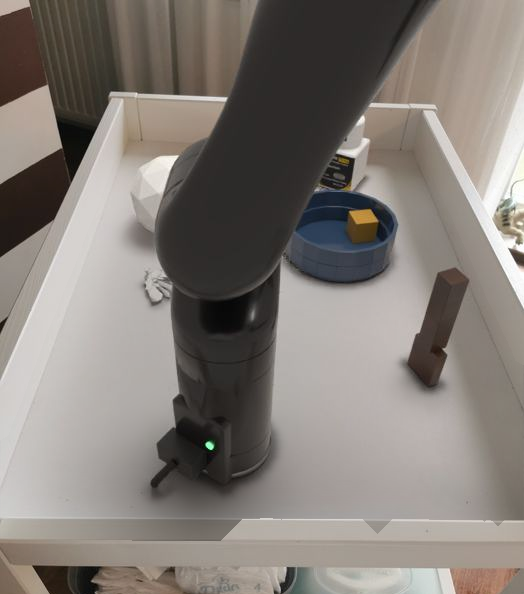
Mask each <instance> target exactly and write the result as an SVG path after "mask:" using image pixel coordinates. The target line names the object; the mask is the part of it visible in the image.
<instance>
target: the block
mask: <svg viewBox="0 0 524 594" xmlns="http://www.w3.org/2000/svg"><path fill="white" fill-rule="evenodd" d="M377 227H378V220H377V218H376V217H375V215H374V214H373V212H372V211H371V209H367V210H357V211H349V214H348V220H347V227H346V232H347V233H348V235H349V237H350V239H351V241H352V242H353V244H354V243H363V242H372V241H375V238H376V232H377Z"/></svg>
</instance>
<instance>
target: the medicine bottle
mask: <svg viewBox="0 0 524 594" xmlns="http://www.w3.org/2000/svg"><path fill="white" fill-rule="evenodd" d="M365 125H366V117H365V116H364V115H363V116H362V117H361V118H360V120H359V121H358V122H357V124H356V125H355V127H354V128H353V129H352V131H351V132H350V134H349V135H348V136H347V138H346V139H345V141H344V142H343V144H342V145H341V147H340V148H339V149H338V151H337V152H336V154H335V156H334V157H333V159H332V161H331V162H330V164H329V166H328V167H327V169H326V171H325V172H324V174H323V176H322V178H321V180H320V182H319V183H318V185H317V187H321V188H325V189H327V190H348V191H354V190H355V188H356V187H357V186H359V184H360V182H361V181H362V180H363V179H364V177H365V175H366V169H367V163H368V157H369V150H370V144H371V139H370V138H368V137H367V138H366V137H364V131H365Z"/></svg>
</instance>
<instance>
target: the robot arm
mask: <svg viewBox="0 0 524 594" xmlns="http://www.w3.org/2000/svg"><path fill="white" fill-rule="evenodd" d="M441 1H442V0H256V4H255V6H254V9H253V13H252V15H251V20H250V23H249V27H248V30H247V35H246V37H245V40H244V45H243V48H242V52H241V54H240V59H239V62H238V66H237V69H236V73H235V75H234V78H233V82H232V85H231V88H230V90H229V93H228V96H227V98H226V101H225V103H224V105H223V108H222V110H221V111H220V114H219V115H218V118H217V120H216V122H215V124H214V126H213V128H212V130H211V132H210V133H209V134H208V136H207V137H204V138H201V139H199V140H197V141H194V142H193V143H191V144H190V145H188V147H186V148H185V149H184V150H183V151H181V153H180V154H179V155H177V156H178V158H177V159H176V161H175V162H174V164H173V166H172V168H171V170H170V172H169V175H168V178H167V181H166V185H165V189H164V192H163V195H162V199H161V202H160V205H159V208H158V211H157V215H156V219H155V229H154V233H153V239H154V245H155V253H156V257H157V260H158V263H159V265H160V268H161V270H162V269H163V271H164V273H165V275H166V276H167V277H166V278H167V279H169V280H170V281H169V280H168V281H169V282H170V283H172V292H171V293H170V321H171V329H172V338H173V347H174V355H175V356H174V358H175V366H176V367H175V368H176V376H177V385H178V386H177V387H178V394H177V395H176V396H175V397H173V399H172V409H173V418H174V425H175V427H174V426H172V427H171V428H170V430H168V431H167V432H166V433H165V434H164V435H163V436H162V437H161V438H160V439H159V440H158V441H157V442H156V443H155V444H156V450H157V451H156V452H157V456H158V459H159V460H160V461H161V462H163V463H165V464H166V465H164V466H163V467H162V468H161V469H160V470H159V471H158V472H157V473H156V474H155V475H154V476H153V478H151V480H150V482H149V485H150V487H151V488H152V489H156V488H158V487H159V485H160V484H161V482H163V480H164V479H166V478H167V476H169V475H170V474H171V473H172V472H173V471H174V470H175V471H177V472H179V473H180V474H182V475H183V476H185V477H186V478H188V479H190V480H191V481H193V482H194V481H195V480H196V479H197V478H198V477H199V476H200V474H201V473H202V474H205V475H207V476H208V477H210V478H211V479H213V480H214V481H216V482H217V483H219V484H221V485H222V486H225V485H227V484H228V483H229V481H231V480H232V479H235V478H241V477H243V476H246V475H248V474H250V473H253V472H255V471H256V470H257V469H258V468H259V467H261V465H263V463H264V462H265V461H266V460H267V458H268V456H269V453H270V450H271V446H272V445H271V444H272V435H271V434H272V433H271V431H272V415H273V414H272V413H273V397H274V384H275V383H274V382H275V381H274V380H275V364H276V350H277V337H278V335H277V334H278V325H279V311H280V295H281V294H280V293H281V272H282V271H281V267H282V258H283V255H284V253H285V252H284V251H285V249H286V247H287V245H288V243H289V241H290V239H291V237H292V235H293V233H294V231H295V229H296V227H297V225H298V223H299V221H300V219H301V217H302V215H303V213H304V211H305V209H306V207H307V205H308V203H309V201H310V199H311V197H312V195H313V193H314V192H315V191H316V190H317V188H318V183H319V182H320V180H321V178H322V176H323V174H324V172H325V171H326V169H327V167H328V166H329V164H330V162H331V161H332V159H333V157H334V156H335V154H336V152H337V151H338V149H339V148H340V147H341V145H342V144H343V142H344V141H345V139H346V138H347V136H348V135H349V134H350V132H351V131H352V129H353V128H354V127H355V125H356V124H357V122H358V121H359V120H360V118H361V117H362V116H364V115H365V113H366V111H367V110H368V108H369V107H370V106H371V104H372V103H373V101H374V100H375V99H376V97H377V95H378V94H379V93H380V92H381V90H382V88H383V87H384V86H385V84H386V82H387V81H388V79H389V77H390V76H391V75H392V73H393V71H394V70H395V69H396V67H397V66H398V64H399V63H400V61H401V60H402V58H403V57H404V55H405V53H406V52H407V51H408V49H409V47H410V46H411V44H412V42H413V41H414V40H415V38H416V37H417V36H418V34H419V32H420V31H421V30H422V28H423V27H424V25H425V24H426V23H427V21H428V20H429V18H430V17H431V15H432V14H433V13H434V11H435V10H436V8H438V6H439V4H440V3H441Z"/></svg>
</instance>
